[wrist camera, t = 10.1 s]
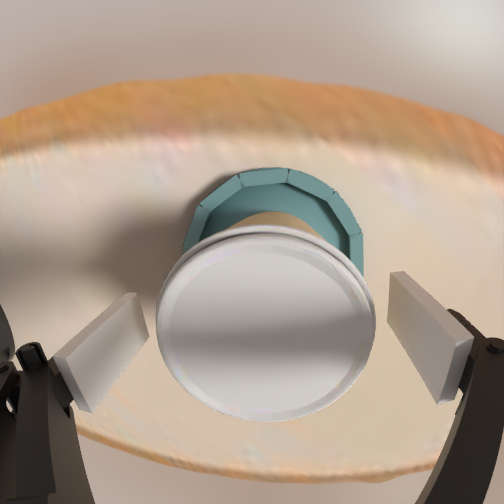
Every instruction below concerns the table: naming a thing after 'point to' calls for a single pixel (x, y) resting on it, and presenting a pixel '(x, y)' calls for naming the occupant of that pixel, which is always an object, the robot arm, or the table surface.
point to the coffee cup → (265, 320)
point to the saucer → (279, 208)
